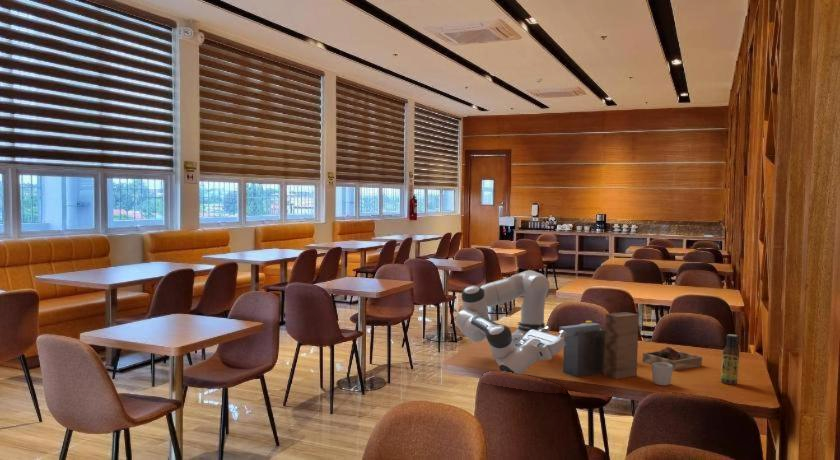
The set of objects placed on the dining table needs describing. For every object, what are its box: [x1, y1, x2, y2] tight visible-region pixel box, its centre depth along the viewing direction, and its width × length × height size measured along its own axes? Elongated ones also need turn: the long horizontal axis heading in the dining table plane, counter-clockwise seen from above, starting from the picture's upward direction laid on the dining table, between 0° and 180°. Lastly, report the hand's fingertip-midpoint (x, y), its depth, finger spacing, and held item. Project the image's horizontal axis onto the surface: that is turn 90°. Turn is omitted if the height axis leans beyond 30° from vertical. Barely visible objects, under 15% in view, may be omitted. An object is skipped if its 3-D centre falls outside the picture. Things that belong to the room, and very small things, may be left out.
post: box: [603, 311, 640, 380], centre depth 271 cm, size 7×12×26 cm, turn 120°
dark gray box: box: [562, 328, 605, 378], centre depth 275 cm, size 8×18×18 cm, turn 120°
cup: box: [651, 362, 673, 387], centre depth 261 cm, size 11×8×8 cm
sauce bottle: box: [720, 333, 740, 386], centre depth 263 cm, size 6×6×20 cm
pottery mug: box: [657, 346, 681, 360], centre depth 294 cm, size 12×10×8 cm
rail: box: [558, 322, 601, 338], centre depth 273 cm, size 4×20×4 cm, turn 120°
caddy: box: [642, 349, 703, 372], centre depth 293 cm, size 17×19×4 cm
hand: (556, 329), depth 266 cm, fingers open, 8 cm apart
